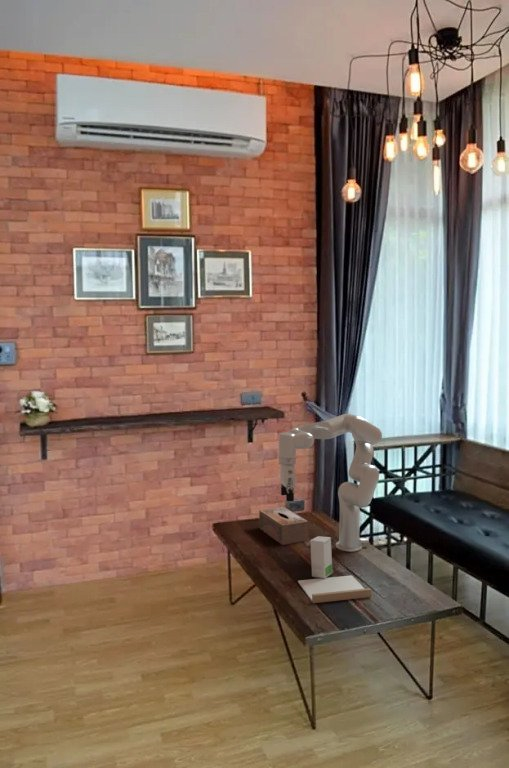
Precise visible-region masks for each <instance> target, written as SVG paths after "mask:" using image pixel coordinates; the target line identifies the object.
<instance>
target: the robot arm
mask: <svg viewBox="0 0 509 768" xmlns="http://www.w3.org/2000/svg"><path fill="white" fill-rule="evenodd" d="M346 433H349V434H351V436H352V438H353V441H354V443H355V452H354V455H353V457H352V460H351V463H350V466H349V469H348V477H349V478H351V479H352V480H353V481H354V482H359V484H357V483H354V482H352V481H345V482H343V483H341V484H340V485H339V487H338V491H337V495H338V503H339V531H338V533H339V536H338V541H337V542H336V543H335V548H337V549H338V550H340V551H343V552H350V553H351V552H359V551H361V550H362V549H363V544H368V543H369V542H370V541H369V538H364V537H360V526H361V525H360V524H361V523H360V519H361V518H360V517H361V510H360V508H362V509H363V508H366V507H368V506H369V505H370V503H371V502H372V499H373V497H374V495H375V491H376V489H377V485H378V483H379V480H380V471H379V469H378V468H377V467H376V466H375V465H373V464H371V463H372V461H373V460H372V459H373V458H374V445H375V446H376V445H378V444H379V443H381V441H382V439H383V433H382V431H381V429H380V428H379V427H377V426H376V425H374V424H373V423H372V422H370V421H368V420H367V419H366V418H363V417H362V416H359V415H355V414H351V413H343V414H340V415H338V416H334V417H332V418H329V419H327V420H323V421H318V422H316V421H315V422H311V423H307V424H302V425H299V426H296V427H293V428H291V429H290V430H289V431H288V432H281V433H280V434H279V435H278V465H280V473H279V474H280V477H279V478H280V495H281V496H285V497H286V500H285V501H286V502H288V503H290V502H294V501H295V499H294V497H295V496H294V495H295V494H294V493H295V491H294V488H296V487H297V486H296V485H297V481H296V480H297V479H296V467H295V466H296V465H297V464H296V462H297V461H296V460H297V457H296V455H297V454H296V453H297V452H296V450H297V449H299V450H301V449H302V450H304V449H305V450H307V449H310V448H311V447H312V446H313V445H314V442H315V440H316V439H317V440H330V439H333V438H335V437H339V436H341V435H343V434H346Z"/></svg>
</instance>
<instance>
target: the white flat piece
mask: <svg viewBox="0 0 509 768" xmlns="http://www.w3.org/2000/svg"><path fill="white" fill-rule="evenodd" d="M297 583H298V584H299V586H300V587H301V588H302V590H303V591H304V592H305V595H307V596H308V598H309V599H310V601H311V603H313V604H317V603H327V602H328V603H329V602H336V601H346V600H354V599H355V600H356V599H363V598H371V597H372V588H370V587H368V588H364V587H363V586H362V584H361V583H360V582H359V581H358V580H357V579H356V578H355V577H354V576H353V575H343V576H342V575H341V576H332V577H330V576H329V577H326V578H312V579H311V578H310V579H303V580H302V579H300V580H297Z"/></svg>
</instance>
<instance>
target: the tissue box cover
mask: <svg viewBox="0 0 509 768" xmlns="http://www.w3.org/2000/svg"><path fill="white" fill-rule="evenodd" d="M258 513H259V523H258V524H259V527H258V528H260V530H261V531H262V530H263V531H262V532H264V533H265V534H266V533H267V534H266V535H268V536H269V537H270V538H272V539H273V540H275V541H276V542H277V543H279V544H280V545H282V546H284V545H290V544H295V543H296V544H297V543H302V542H308V541H309V521H308V520H307V519H305V518H303V517H302V516H300V515H299V514H296V513H295V512H294V511H292V510H290V509H288V508H286V507H285V506H282V507H276V508H267V509H259V512H258Z"/></svg>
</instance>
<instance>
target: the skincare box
mask: <svg viewBox="0 0 509 768" xmlns="http://www.w3.org/2000/svg"><path fill="white" fill-rule="evenodd" d="M309 541H310V543H309V544H310V561H311V564H310V565H311V577H313V578H317V579H320V578H329V577H330V576H331V575H332V574H333V559H332V557H333V556H332V537H331V536H320V535H318V536H316V537H313V538H312V539H310V540H309Z"/></svg>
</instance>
